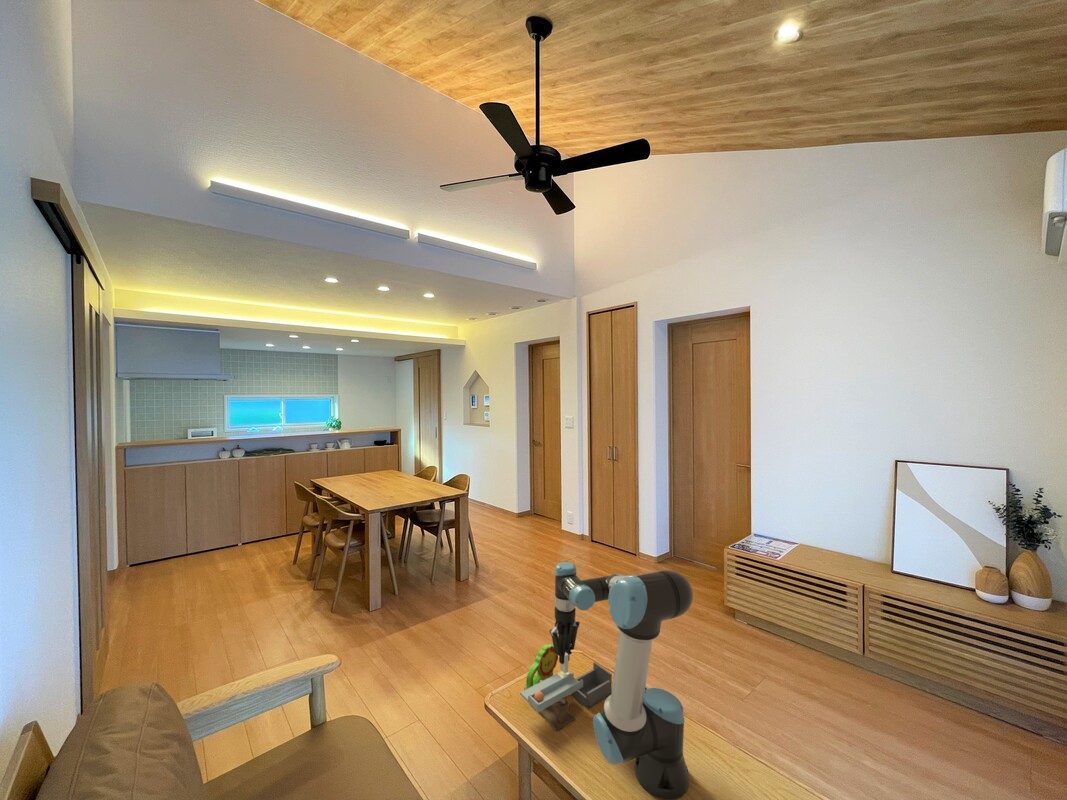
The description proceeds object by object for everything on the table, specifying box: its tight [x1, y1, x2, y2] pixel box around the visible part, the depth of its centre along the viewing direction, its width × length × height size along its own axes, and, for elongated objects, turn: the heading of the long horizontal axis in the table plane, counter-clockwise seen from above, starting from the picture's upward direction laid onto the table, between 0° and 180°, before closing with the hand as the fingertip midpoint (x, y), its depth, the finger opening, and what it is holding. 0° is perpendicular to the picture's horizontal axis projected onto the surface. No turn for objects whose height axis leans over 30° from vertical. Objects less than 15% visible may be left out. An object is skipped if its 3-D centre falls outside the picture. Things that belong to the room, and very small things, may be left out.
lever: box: [520, 670, 583, 713], centre depth 151 cm, size 13×20×3 cm, turn 127°
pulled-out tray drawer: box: [570, 661, 613, 710], centre depth 159 cm, size 9×12×8 cm
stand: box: [537, 701, 576, 732], centre depth 151 cm, size 15×8×6 cm, turn 37°
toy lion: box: [523, 643, 559, 691], centre depth 163 cm, size 16×5×15 cm, turn 137°
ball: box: [534, 691, 544, 703], centre depth 144 cm, size 3×3×3 cm
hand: (564, 670), depth 158 cm, fingers closed
